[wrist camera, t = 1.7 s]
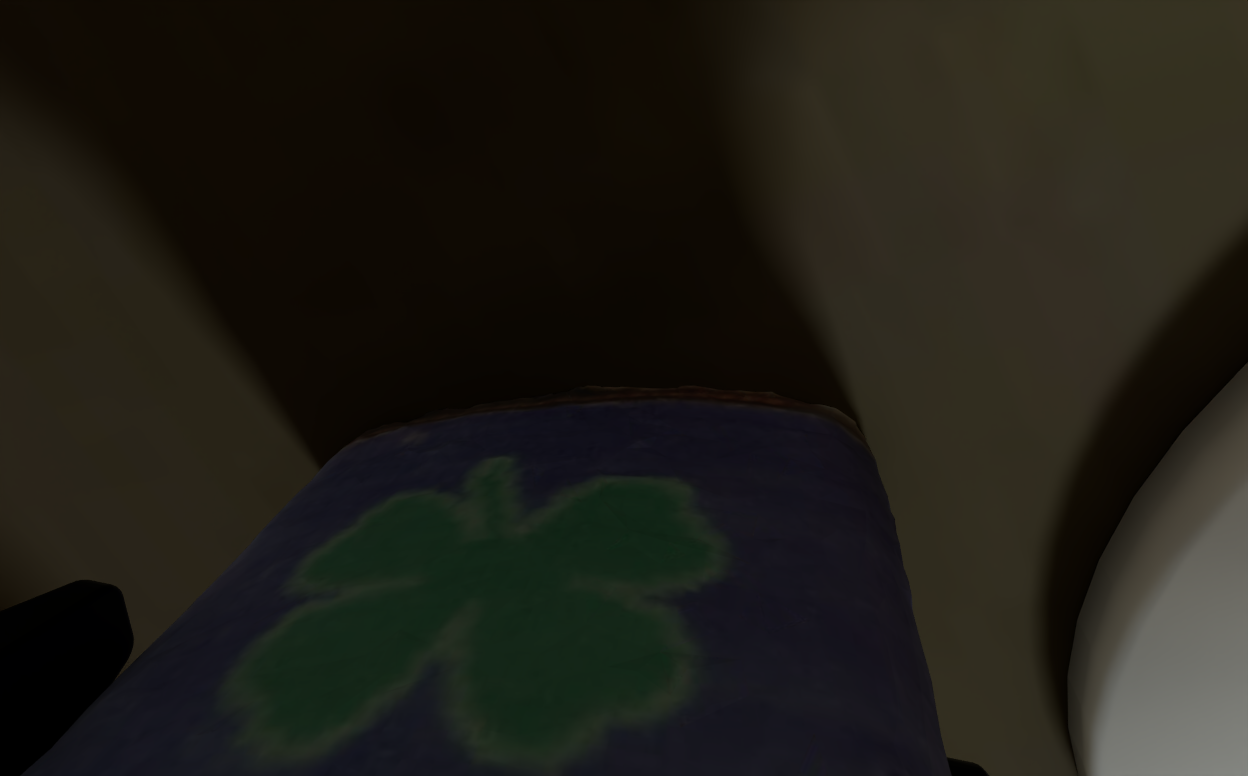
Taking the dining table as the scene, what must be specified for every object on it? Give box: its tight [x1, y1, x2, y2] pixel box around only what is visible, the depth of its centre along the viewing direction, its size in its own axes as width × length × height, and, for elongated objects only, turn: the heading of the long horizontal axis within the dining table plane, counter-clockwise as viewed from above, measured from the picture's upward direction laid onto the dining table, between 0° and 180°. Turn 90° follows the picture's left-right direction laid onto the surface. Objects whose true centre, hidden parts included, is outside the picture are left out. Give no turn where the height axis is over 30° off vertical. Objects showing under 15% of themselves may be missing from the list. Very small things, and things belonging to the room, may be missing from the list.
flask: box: [20, 385, 952, 776], centre depth 8 cm, size 9×3×11 cm, turn 98°
